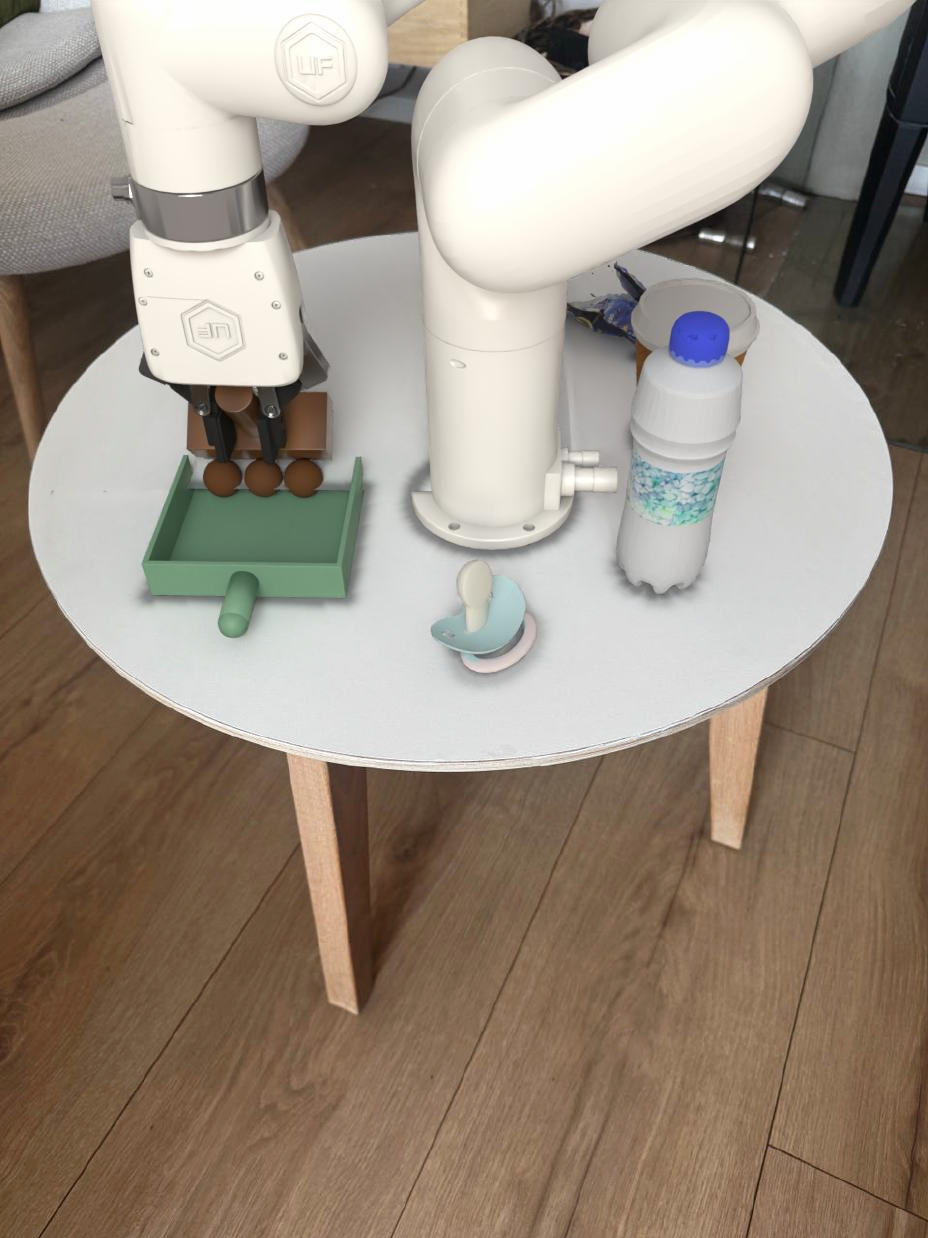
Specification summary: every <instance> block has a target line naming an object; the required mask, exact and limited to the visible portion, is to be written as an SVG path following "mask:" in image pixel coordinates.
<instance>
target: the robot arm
mask: <svg viewBox="0 0 928 1238" xmlns="http://www.w3.org/2000/svg"><path fill="white" fill-rule="evenodd" d="M425 1H426V0H89V3H90V8H91V13H92V17H93V21H94V25H95V30H96V35H97V39H98V42H99V48H100V51H101V56H102V60H103V64H104V68H105V72H106V73H105V74H106V76H107V81H108V86H109V89H110V94H111V97H112V102H113V106H114V110H115V111H114V112H115V115H116V119H117V123H118V127H119V132H120V136H121V141H122V144H123V148H124V153H125V156H126V161H127V166H128V169H129V174H124V175H123V176H113V177H111V179H110V193H111V196H112V199H113V201H115V202H126V204H128V205H132V206H133V209H135V210H134V211H135V214H136V217H137V219H136V220H135V221H134V222H133V223H132V225H131V226H130V228H129V255H130V257H129V258H130V271H131V278H132V288H133V295H134V303H135V309H136V316H137V322H138V328H139V334H140V339H141V343H142V344H141V345H142V350H143V351H142V356H141V358H140V361H139V365H138V372H139V374H140V375H142V376H143V377H145V378H148V379H150V380H152V381H155V382H157V383H159V384H161V385H164V386H166V385H167V386H169V388H170V389H171V390H172V391H173V392H175V393H176V394H177V395H179V396H180V397H181V398H183V399H184V400H185V401H187V403H188V402H190V403H191V404H192V405H193V409H194V411H195V413H197V414H198V415H200V416H202V418H203V423H204V427H205V432H206V436H207V441H208V444H209V446H214V447H215V451H216V456H217V461H218V463H227V462H229V460H231V459H230V457H231V455H232V452H233V449H234V446H235V443H236V440H237V436H236V431H235V426H234V421H233V420H232V419H231V418H230V417H229V416H228V415H227V414H226V413H225V412H224V411H223V410H222V409H221V408H220V407H219V406H218V404H217V402H216V399H215V390H216V387H217V386H246V387H253V388H256V392H258V396H259V400H260V411H259V414H258V417H257V428H258V433H259V439H260V445H261V450H262V456H263V461H264V463H266V464H267V465H274V464H275V462H276V461H277V460H276V458H277V455H278V451H279V448H285V447H286V443H287V429H286V423H285V416H284V410H283V408H284V407H285V406H286V405H287V404H288V403H289V402H290V401H291V400H292V399H294V398H295V397H296V396H297V395H298V394H299V392H303V391H305V390H308V389H311V388H313V387H315V386H318V385H320V384H323V383H325V382H326V381H327V380H328V379H329V375H330V371H331V364H330V362H329V360H327V358H326V356H325V355H324V353H323V352H322V350H321V349H320V347H319V346H318V345H317V343H316V341H315V340H314V338H313V337H312V335H311V334H310V331H309V323H308V317H307V312H306V306H305V300H304V296H303V292H302V286H301V281H300V278H299V273H298V269H297V265H296V261H295V258H294V255H293V252H292V248H291V245H290V242H289V241H290V240H289V238H288V234H287V232H286V230H285V227H284V223H283V221H282V219H281V216H280V214H279V212H278V211H276V210H274V209H270V208H269V199H268V192H267V186H266V185H267V184H266V179H265V171H264V165H263V158H262V151H261V149H262V148H261V142H260V137H259V129H258V128H259V127H258V123H257V121H258V120H257V118H258V119H264V120H271V121H276V122H281V123H289V124H296V125H305V126H330V125H331V126H332V125H336V124H340V123H344V122H347V121H350V120H351V119H353V118H355V117H357V116H359V115H360V114H362V113H363V112H364V111H365V110H367V109H368V108H369V107H370V106H371V105H372V104H373V102H374V101H375V100H376V99H377V97H378V95H379V94H380V92H381V91H382V89H383V86H384V84H385V81H386V77H387V74H388V69H389V64H390V38H389V31H388V30H389V29H388V28H389V27H391V26H392V25H393V24H395V23H396V22H397V21H399V20H400V19H401V18H403V17H404V16H405V15H407V14H408V13H409V12H411V11H412V10H413V9H416V8H417V7H418V6H420V5H421V4H422V3H424V2H425ZM915 2H917V0H603V1H602V2H601V3H600V5H599V6H598V9H597V11H596V12H595V15H594V17H593V20H592V23H591V26H590V31H589V36H588V42H587V61H588V66H586V67H584V68H583V69H581V70H579V71H577V72H575V73H573V74H571V75H569V76H567V77H565V78H563V79H562V77H561V76H560V74H559V72H558V71H557V70H556V68H555V67H554V66H553V65H552V64H551V63H550V62H549V61H548V60H547V59H546V58H545V57H544V56H543V55H542V54H540V53H539V52H538V51H537V50H535V49H534V48H532V47H531V46H529V45H528V44H525V43H524V42H521V41H520V40H516V39H513V38H510V37H504V36H492V35H491V36H482V37H477V38H474V39H470V40H467V41H465V42H463V43H461V44H459V45H457V46H455V47H454V48H452V49H450V50H449V51H448V52H447V53H445V54H444V55H443V56H442V57H441V58H440V59H439V60H438V61H436V63H435V64H434V65H433V67H432V69H431V70H430V71H429V73H427V76H426V78H425V79H424V81H423V83H422V84H421V87H420V89H419V92H418V94H417V97H416V101H415V104H414V109H413V113H412V118H411V130H410V131H411V132H410V142H411V143H410V144H411V147H410V148H411V162H412V174H413V183H414V194H415V209H416V220H417V235H418V246H419V247H418V248H419V263H420V264H419V265H420V283H421V284H420V287H421V303H422V330H423V351H424V369H425V388H426V389H425V390H426V391H425V392H426V410H427V413H426V414H427V429H428V430H427V431H428V434H427V435H428V451H429V469H430V470H429V473H430V474H429V475H430V487H431V490H410V496H411V505H412V509H413V511H414V514H415V515H416V517H417V519H418V520H419V521H420V522H421V524H422V525H423V526H424V527H425V528H426V529H428V531H430V532H431V533H432V534H433V535H436V536H437V537H439V538H441V539H442V540H445V541H446V542H449V543H452V544H455V545H457V546H461V547H466V548H471V549H475V550H486V551H487V550H488V551H495V550H496V551H497V550H511V549H517V548H521V547H525V546H528V545H531V544H533V543H537V542H538V541H540V540H543V539H545V538H547V537H549V536H551V535H552V534H554V532H556V531H557V530H558V529H560V528H561V527H562V526H563V525H564V524H565V522H566V521H567V520H568V519H569V516H570V514H571V512H572V510H573V509H574V508H573V507H574V500H575V492H592V493H603V494H605V493H608V494H609V493H610V494H616V493H617V492H618V481H619V471H618V467H617V466H600V450H599V449H598V450H596V449H595V450H594V449H593V450H591V449H590V450H587V449H582V450H569V447H565V446H564V447H562V443H561V441H562V440H561V430H560V429H559V424H560V423H559V422H560V409H561V408H560V407H561V406H560V405H561V391H562V390H561V389H562V377H563V376H562V375H563V360H564V345H565V329H566V319H567V313H566V310H567V303H568V293H569V280H571V279H574V278H576V277H579V276H582V275H583V274H586V273H587V272H590V271H592V270H595V269H597V268H599V267H601V266H603V265H606V264H608V263H610V262H612V261H615V260H616V259H619V258H621V257H623V256H625V255H627V254H628V255H629V254H630V253H632V252H634V251H636V250H639V249H640V248H644V247H645V246H647V245H650V244H651V243H652V244H653V243H654V242H656V241H658V240H660V239H662V238H663V239H664V237H666V236H669V235H671V234H673V233H675V232H678V231H680V230H682V229H684V228H686V227H689V226H692V225H693V224H695V223H698V222H699V221H701V220H704V219H706V218H707V217H710V216H712V215H713V214H716V213H718V212H719V211H721V210H723V209H726V208H727V207H730V205H733V204H735V203H736V202H738V201H739V200H741V199H742V198H744V197H745V196H746V195H748V194H749V193H750V192H753V190H754V189H756V188H757V187H759V185H760V184H761V183H762V182H764V181H765V180H766V179H767V178H768V177H769V176H771V174H773V172H774V171H775V170H776V169H777V168H778V167H779V166H780V165H781V164H782V163H783V161H784V159H786V158H787V156H788V154H789V153H790V152H791V149H793V147H794V146H795V144H796V143H797V140H798V139H799V137H800V135H801V133H802V130H803V128H804V126H805V124H806V121H807V119H808V115H809V112H810V109H811V104H812V100H813V92H814V69H816V68H817V67H819V66H820V65H822V64H824V63H826V62H827V61H830V60H832V59H834V58H835V57H837V56H839V55H841V54H842V53H844V52H846V51H848V50H849V49H851V48H854V47H855V46H857V45H858V44H861V43H862V42H864V41H866V40H867V39H869V38H871V37H873V36H874V35H876V34H877V33H879V32H880V31H882V30H883V29H885V28H886V27H887V26H889V25H890V24H891V23H893V22H895V20H897V19H898V18H899V17H901V16H902V15H903V14H904V13H905V12H906V11H907V10H908V9H909V8H911V6H913V5H914V3H915Z"/></svg>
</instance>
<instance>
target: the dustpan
mask: <svg viewBox="0 0 928 1238" xmlns="http://www.w3.org/2000/svg"><path fill="white" fill-rule="evenodd" d="M189 457H190V456H189V454H183V455H182V457H181V460H180V463H179V465H178V468H177V470H176V474H175V476H174V478H173V481H172V483H171V486H170V489H169V491H168V493H167V497H166V499H165V501H164V505H163V506H162V509H161V512H160V515H159V518H158V520H157V522H156V525H155V528H154V531H153V533H152V535H151V538H150V541H149V542H148V545H147V548H146V551H145V554H144V556H143V559H142V562H141V568H142V570H143V574H144V576H145V579H146V582H147V585H148V588H149V591H150V594H151V595H152V596H190V597H191V596H193V597H194V596H195V597H224V598H223V602H222V605H221V609H220V612H219V615H218V619H217V627H218V630H219V632H220V633H221V634H222V635H223V636H225V637H226V638H230V639H237V638H240V637H242V636H244V634H245V633H247V630H248V628H249V625H250V621H251V617H252V614H253V609H254V606H255V602H256V598H257V597H259V598H313V599H314V598H323V599H324V598H325V599H346V598H347V596H348V590H349V586H350V579H351V573H352V567H353V561H354V555H355V548H356V543H357V536H358V533H359V532H358V531H359V526H360V519H361V514H362V507H363V501H364V496H365V490H361V489H362V483H363V478H364V472H363V471H364V470H363V462H362V460H363V459H362V456H355V460H354V467H353V470H352V476H351V483H350V487H349V489H318V490H319V491H318V492H317V493H316V494H315V495H313V496H311V497H307V498H301V497H297V496H295V495H293V494H292V493H290V492H289V491H288V490H289V489H283V488H281V489H280V488H279V489H280V490H279V491H278V492H277V493H276V494H274V495H272V496H270V497H259V496H256V495H254V494H253V493H251V492H250V491H249V490H248V489H249V488H238V489H239V490H238V491H237V492H236V493H235V494H233V495H231V496H229V497H218V496H215V495H213V494H212V493H211V492H209V491H208V488H196V487H195V488H191V487H189V486H190V485H189V484H190V481H191V479H192V476H193V474H194V471H193V468H192V464H191V461H190V458H189ZM188 487H189V488H188Z"/></svg>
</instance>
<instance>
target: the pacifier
mask: <svg viewBox="0 0 928 1238" xmlns="http://www.w3.org/2000/svg"><path fill="white" fill-rule="evenodd" d="M455 585H456V586H455V587H456V592H457V595H458V597H459V599H460V600H461V602H462V606H461V612H460V613H459V614H457V615H451V616H447V617H444V618H442V619H439V620H436V622H434V623H433V624H432V625H431V626H430V634H431V636H432V638H433V639H434V640H435V641H436V642H437V643H439V644H441V645H443V646H445V647H446V648H449V649H451V650H453V651H457V652H460V659H461V661H462V662H463V664H464V666H465V667H467V668H468V669H469V670H470V671H473V672H476V673H478V674H491V673H497V672H500V671H502V670H505V669H508V668H510V667H511V666H513V665H515V664H516V663H518V662H519V661H520V660H521V659H522V658H523V657H525V656H526V655H527V653H528V652H529V651H530V649H531V648H532V647H533V645H534V642H535V641H536V638H537V632H538V626H537V621H536V619H535V618H534V616H533V615H532V614H531V613H530V612H528V611H527V610H526V601H525V596H524V594H523V592H522V590H521V589H520V587H519V585H518V584H517V583H516V581H514V580H513V579H511V578H509V577H507V576H505V575H497V574H495V575H494V574H493V571H492V568H491V566H490V564H489V563H488V562H486V561H485V560H483V559H472V560H469V561H467V562H466V563H465V564H464V565H463V566H462V567H461V568H460V569H459V572H458V574H457V576H456V583H455ZM490 596H492V597H491V599H489V598H490ZM521 626H522V628H523V633H522V636H521V637H520V640H519V641H518V642H517V643H516V645H515V646H514V647H513V648H511V649H510V650H509V651H508V652H505V653H504V654H502V655H500V656H498V657H494V658H487V659H486V658H480V657H477V656H476V655H483V654H488V653H493V652H495V651H498V650H499V649H501V648H503V647H504V646H506V645H507V644H508V643H509V642H511V641H512V639H513V638H514V637H515V636H516V635H517V633H518V632H519V630H520V627H521ZM444 634H451V635H452V637H451V636H450V637H449V636H446V635H444Z"/></svg>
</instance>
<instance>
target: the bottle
mask: <svg viewBox="0 0 928 1238" xmlns="http://www.w3.org/2000/svg"><path fill="white" fill-rule="evenodd" d="M729 338H730V330H729V326H728V324H727V323H726V321H725V320H724V319H723V318H722V317H721V316H719V315H717V314H714V313H711V312H707V311H692V312H688V313H685V314H683V315H681V316H680V317H679V318H678V319H677V320H676V321H675V323H674V325H673V327H672V330H671V335H670V342H669V345H666V346H664V347H661V348H659V349H657V350H655V351H653V352H652V353H651V354H650V355H649V356H648V357H647V358H646V360H645V362H644V364H643V368H642V371H641V375H640V378H639V382H638V385H637V387H636V389H635V393H634V395H633V398H632V401H631V403H630V404H631V405H630V413H631V418H630V421H629V428H630V432H631V435H632V438H633V439H632V447H631V454H630V463H629V469H628V477H627V484H626V492H625V499H624V504H623V505H624V506H623V509H622V514H621V517H620V522H619V527H618V533H617V537H616V538H617V540H616V548H615V552H616V561H617V563H618V566H619V567H620V568H621V569H622V570H623V571H624V572H625V576H626V578H627V581H628V582H629V583H630V584H631V585H632V586H634V587H638V588H639V587H641V586H642V585H643V584H644V583H647V584H649V585H650V586H651V587H652V589H653V593H655V594H657V595H664V594H665V593H667V592H668V590H669V589H670V588H672V586H675V587H676V588H677V589H679V590H684V589H686V588H689V587H690V586H691V585H692V584H693V583H694V582H695V581H696V578H697V577H698V575H699V574H700V572H701V570H702V568H703V567H704V565H705V562H706V559H707V557H708V553H709V546H710V541H711V533H712V525H713V516H714V511H715V506H716V502H717V497H718V492H719V488H720V484H721V479H722V475H723V469H724V466H725V461H726V456H727V452H728V450H729V448H730V447H732V445H733V444H734V442H735V440H736V437H737V429H738V428H739V425H740V423H741V418H742V411H741V410H742V393H743V379H744V374H743V370H742V367H741V366H740V365H739V363H738V362H737V361H736V360H735V359H734V358H733V357H732V356H731V355H730V354H728V353H726V352H727V349H728V344H729Z"/></svg>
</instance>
